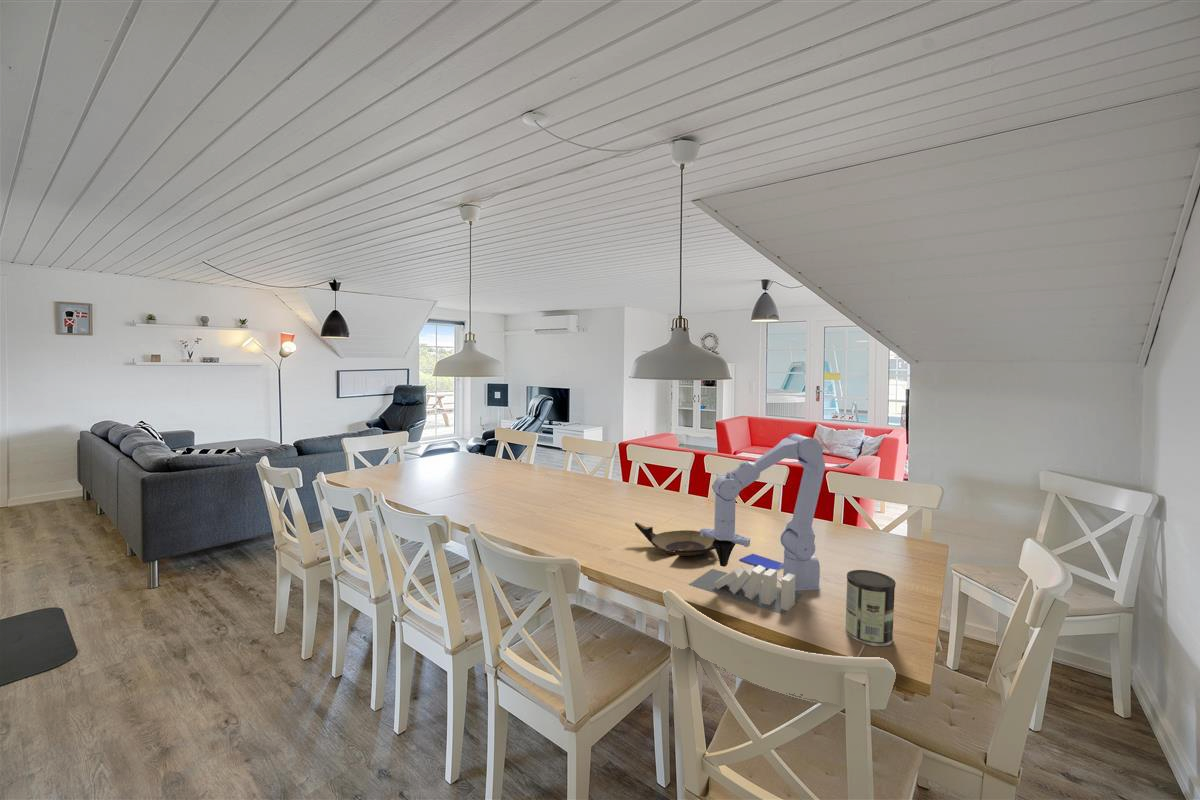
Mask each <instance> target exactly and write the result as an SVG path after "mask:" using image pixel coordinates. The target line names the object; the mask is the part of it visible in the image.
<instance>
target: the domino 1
mask: <svg viewBox="0 0 1200 800" xmlns="http://www.w3.org/2000/svg"><path fill="white" fill-rule="evenodd" d="M744 570H745V569H744V567H743V565H740V566H738V567H737V568H735V569H734V570H731V571H730V572H727V573H728V574H726V575H725V576H723V577H721V578H720V579H718V580H717V581H716V582H714V584H715V586H716V588H717V589H719V588H721V587H723V586H725V585H726V584H728V583H730V582H732V581H733V580H735V579H737V578H738V577H739V576H740V575H741V574H742V573H743V571H744Z"/></svg>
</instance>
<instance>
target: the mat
mask: <svg viewBox="0 0 1200 800" xmlns="http://www.w3.org/2000/svg"><path fill="white" fill-rule="evenodd" d="M728 573H729V572H725V571H721V570H718V569H714V568H711V569H710V570H708V571H707V572H705V573H704V574H702V575H701V576H699V577H697V578H695V580H693V581H692V582H690V583H688V585H689V586H692V587H694V588H698V589H701V590H703V591H708V592H710V593H714V594H717V595H721V596H724V597H727V598H730V599H732V600H737V601H739V602H742V603H746V604H748V605H752V606H754V607H758V608H762V609H766V610H768V611H772V612H775V613H778V614H780V615H786V614H787V613H788V612H789V611H787V610H783V609H781V587H779V586H777V589H776V599H775V600H774V601H773V602H772V603H771V604H770V605H767V604H764V603H762V587H763V582H762V583H761V587H760V590H759V593H758V594H757V595H756V596H755V597H754V598H753V599H752V600H751V599H749V598H747V597H746V596H745V593H746V589H747V586H748V582H749V581H748V582H747V583H746V584H745V585H744V586H743V588H742V589H741V590H739V591H738V592H737V593H736V594H733V593H732V592H731V591H730V590H729V588H730V587H731V586H732V585H733V583H734V582H735V581H736V580H737V579H738V578H737V579H735V580H733V581H732V582H730V583H728V584H726V585H725V586H723V587H721V588H719V589H717V588H716V586H715V584H714V582H716V581H717V580H718V579H720V578H721V577H723V576H725V575H726V574H728ZM803 596H804V593H800V592H797V591H795V604H796V603H797V602H799V600H800V599H802V598H803ZM795 604H794V605H793V606H792V607H791V609H792V608H793V607H794V606H795Z"/></svg>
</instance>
